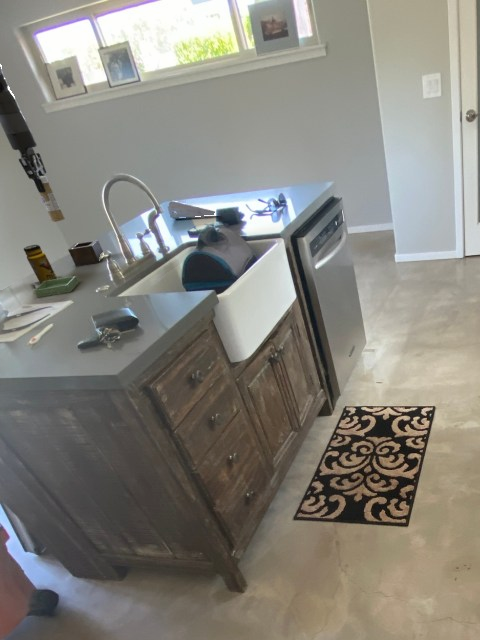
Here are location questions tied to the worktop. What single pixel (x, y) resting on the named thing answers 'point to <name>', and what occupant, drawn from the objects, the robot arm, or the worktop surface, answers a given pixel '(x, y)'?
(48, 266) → the condiment
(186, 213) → the grey tapered wedge
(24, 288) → the worktop surface
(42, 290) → the tray
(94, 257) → the brown wooden box
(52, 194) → the sprinkles bottle
